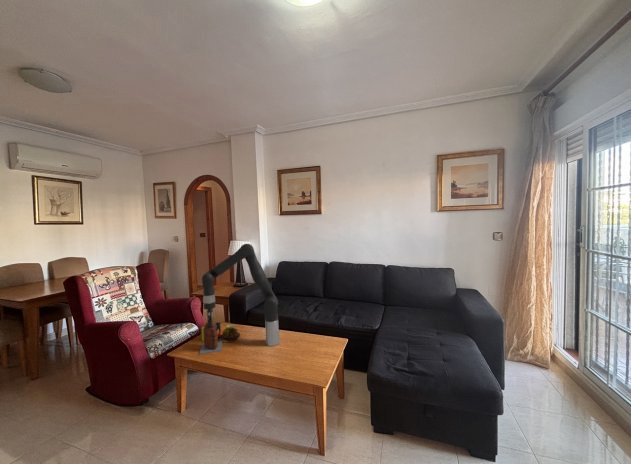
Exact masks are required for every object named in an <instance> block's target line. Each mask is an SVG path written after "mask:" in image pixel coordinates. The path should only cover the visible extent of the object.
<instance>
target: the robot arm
mask: <svg viewBox="0 0 631 464" xmlns="http://www.w3.org/2000/svg"><path fill="white" fill-rule="evenodd" d="M244 259H245V261H246V263H247V267H248V268H249V269H248V270H249V272H250V276H251V278H252V280H253V283H254V284H255V286H256V287H257V289H258V290H259V291H260V292H261V294H262V295H263V299H264V303H263V315H264V321H265V322H264V324H265V325H264V327H265V345H266V346H268V347H274V346H278V345H279V344H280V343H281V342H280V330H279V315H278V305H279V300H278V298H277V296H276V295H275V293H274V291H273V289H272V287H271V285H270V284H271V283H270V282H269V280H268V277H267V275H266V273H265V270H264V268H263V267H262V265H261V263H260V262H259V260H258V258H257V255H256V252H255V249H254V247H253V245H252V244H250V243H244V244H242V245H241V246H240V248H238V249H237V251H235V252H234V253H233V254H232V255H230V256H229V257H227V258H226V259H224V260H222V261H221V262H219V263H218V264H217V265H215V266H214V267H212V268H211V269H210V270H208V271H207V272H205V273H204V274H203V275H202V278H201V283H202V288H203V290H202V291H203V292H202V293H203V297H202V298H203V301H202V302H203V309H204V310H206V318H207V320H206V321H207V322H208V327H212V321H213V318H214V317H213V315H214V309H215V308H216V296H215V295H216V294H215V285H214V280H215V279H216V278H218V277H219V276H221V275H223V274H224V273H226V272H227V271H229V269H231V268H233V266H235V265H237V263H239V262H241V261H242V260H244Z"/></svg>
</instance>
